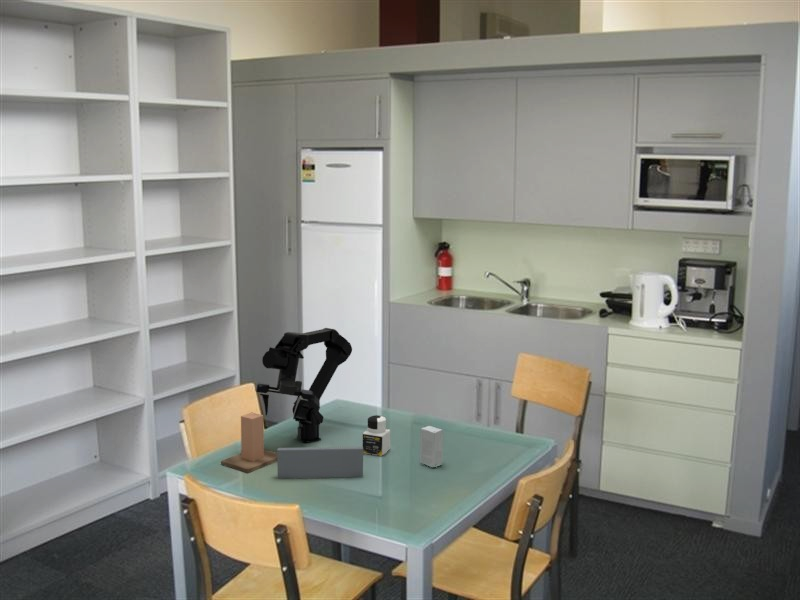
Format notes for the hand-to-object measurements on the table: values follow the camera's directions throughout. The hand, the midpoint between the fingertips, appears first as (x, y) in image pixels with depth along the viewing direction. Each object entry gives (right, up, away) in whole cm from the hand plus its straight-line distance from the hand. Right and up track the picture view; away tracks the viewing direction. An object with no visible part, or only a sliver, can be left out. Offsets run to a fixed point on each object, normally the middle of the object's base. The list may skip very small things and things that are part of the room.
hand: (279, 417), depth 279 cm
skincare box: (+50, -14, -8) cm, 52 cm away
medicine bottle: (+32, -12, +3) cm, 34 cm away
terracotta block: (-8, -12, -8) cm, 16 cm away
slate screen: (+15, -15, -17) cm, 27 cm away
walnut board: (-8, -13, -8) cm, 17 cm away
